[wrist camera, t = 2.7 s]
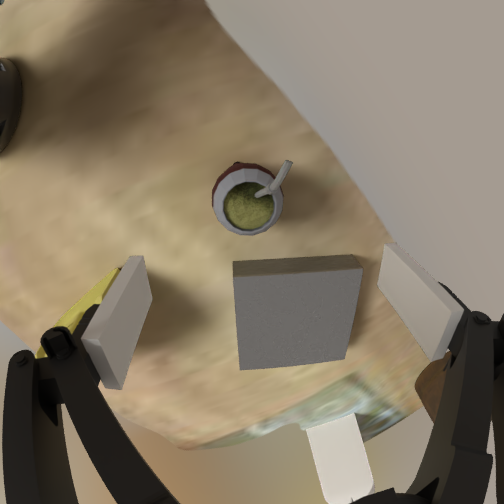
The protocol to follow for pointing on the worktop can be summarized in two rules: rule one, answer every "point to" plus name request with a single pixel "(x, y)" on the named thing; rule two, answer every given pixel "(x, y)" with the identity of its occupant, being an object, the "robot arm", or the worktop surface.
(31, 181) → the worktop surface
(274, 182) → the mate gourd
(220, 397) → the worktop surface
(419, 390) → the wooden container
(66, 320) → the plastic component
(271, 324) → the stand
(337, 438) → the milk
